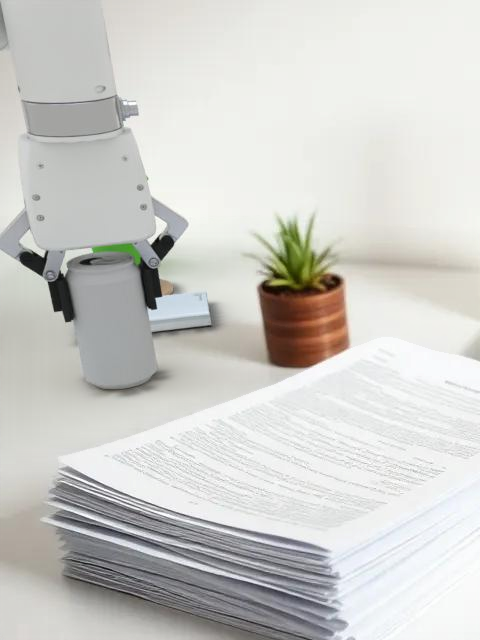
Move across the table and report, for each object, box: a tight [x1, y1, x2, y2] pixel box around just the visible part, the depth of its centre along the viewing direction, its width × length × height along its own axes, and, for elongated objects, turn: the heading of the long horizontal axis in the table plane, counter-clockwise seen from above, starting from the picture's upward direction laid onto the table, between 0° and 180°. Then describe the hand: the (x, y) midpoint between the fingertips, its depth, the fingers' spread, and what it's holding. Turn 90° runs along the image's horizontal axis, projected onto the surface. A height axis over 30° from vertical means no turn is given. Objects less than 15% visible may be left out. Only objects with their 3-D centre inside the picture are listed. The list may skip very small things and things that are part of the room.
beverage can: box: [64, 252, 158, 390], centre depth 106 cm, size 6×6×12 cm
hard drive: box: [147, 290, 212, 333], centre depth 122 cm, size 2×8×12 cm
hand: (109, 309), depth 105 cm, fingers closed on beverage can, 6 cm apart
